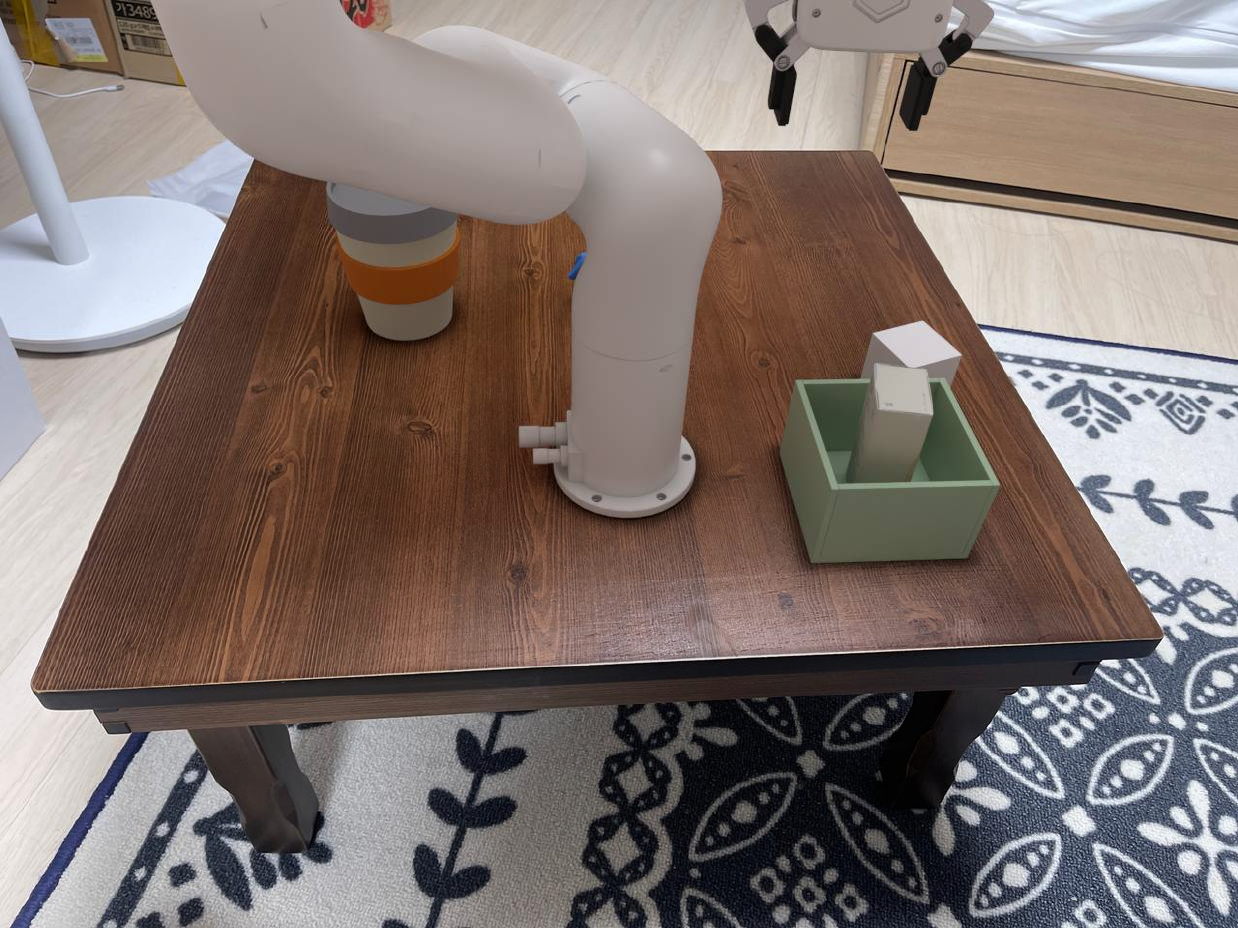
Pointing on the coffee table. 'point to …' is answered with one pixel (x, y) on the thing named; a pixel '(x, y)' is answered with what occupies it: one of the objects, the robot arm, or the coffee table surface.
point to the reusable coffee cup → (396, 260)
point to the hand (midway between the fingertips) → (844, 121)
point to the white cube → (913, 351)
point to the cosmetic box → (891, 425)
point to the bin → (883, 512)
